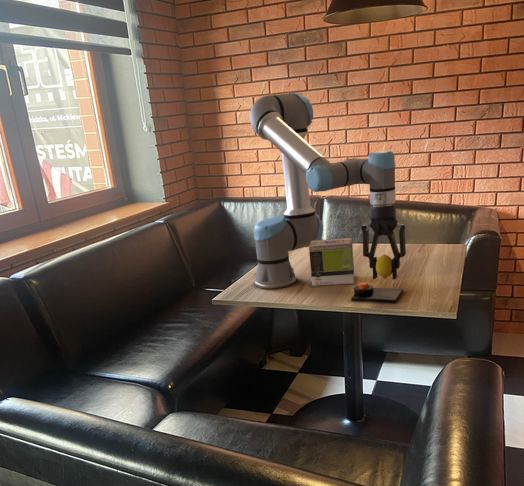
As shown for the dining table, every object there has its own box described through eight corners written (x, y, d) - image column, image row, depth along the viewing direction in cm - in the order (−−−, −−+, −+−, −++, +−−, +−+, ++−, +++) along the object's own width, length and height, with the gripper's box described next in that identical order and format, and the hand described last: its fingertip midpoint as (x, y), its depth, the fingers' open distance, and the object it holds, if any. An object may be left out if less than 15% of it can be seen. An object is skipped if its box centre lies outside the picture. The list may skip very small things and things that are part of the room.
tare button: (357, 289, 174) (357, 284, 173) (360, 286, 176) (359, 281, 176) (366, 290, 172) (366, 284, 172) (369, 287, 175) (369, 281, 174)
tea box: (354, 276, 197) (352, 236, 192) (354, 284, 187) (352, 243, 182) (313, 278, 200) (310, 239, 194) (311, 286, 190) (308, 245, 185)
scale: (349, 301, 172) (349, 292, 171) (359, 290, 181) (359, 281, 180) (395, 303, 165) (395, 294, 164) (402, 292, 175) (402, 283, 174)
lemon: (394, 281, 167) (393, 256, 164) (375, 281, 168) (375, 257, 165) (393, 275, 172) (393, 251, 169) (375, 276, 173) (375, 252, 170)
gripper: (349, 207, 163) (353, 280, 171) (411, 205, 154) (412, 282, 162) (356, 203, 169) (359, 273, 177) (416, 201, 161) (417, 275, 169)
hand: (384, 277), depth 170 cm, fingers closed on lemon, 5 cm apart
